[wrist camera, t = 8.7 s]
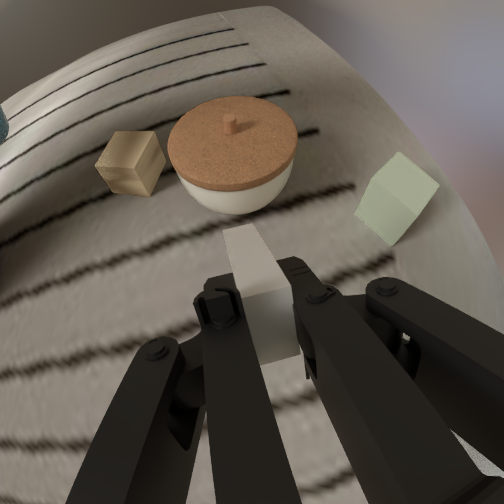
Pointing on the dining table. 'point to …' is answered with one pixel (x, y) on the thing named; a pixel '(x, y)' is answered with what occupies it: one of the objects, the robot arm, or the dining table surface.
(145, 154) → the beech block
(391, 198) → the sage block
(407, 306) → the robot arm
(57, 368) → the dining table surface
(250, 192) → the lidded jar
